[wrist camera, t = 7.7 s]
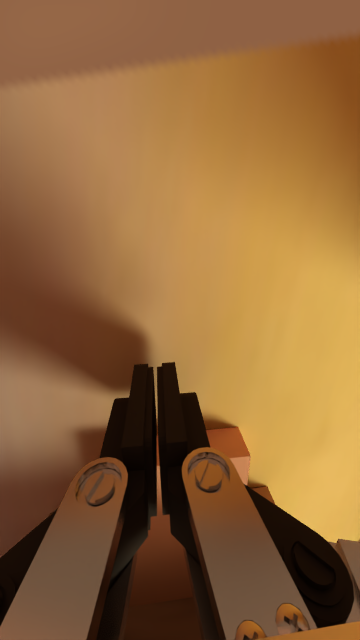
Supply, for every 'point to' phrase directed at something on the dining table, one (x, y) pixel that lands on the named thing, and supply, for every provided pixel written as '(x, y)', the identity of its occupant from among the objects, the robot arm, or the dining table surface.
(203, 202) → the dining table surface
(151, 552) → the terracotta tile
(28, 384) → the dining table surface
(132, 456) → the robot arm
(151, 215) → the dining table surface
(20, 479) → the dining table surface
